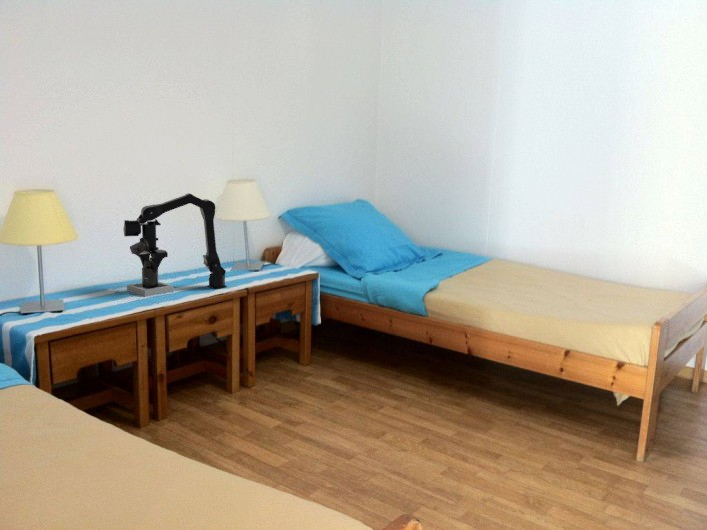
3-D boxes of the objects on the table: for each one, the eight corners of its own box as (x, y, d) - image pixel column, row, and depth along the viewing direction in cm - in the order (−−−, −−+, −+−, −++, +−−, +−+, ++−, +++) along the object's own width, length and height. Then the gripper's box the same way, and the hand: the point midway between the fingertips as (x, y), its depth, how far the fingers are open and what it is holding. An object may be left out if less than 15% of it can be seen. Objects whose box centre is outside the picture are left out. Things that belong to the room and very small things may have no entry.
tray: (155, 286, 309) (154, 280, 308) (173, 291, 300) (173, 285, 299) (127, 290, 298) (126, 284, 298) (145, 296, 289) (145, 290, 289)
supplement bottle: (141, 288, 295) (140, 261, 292) (143, 285, 301) (142, 258, 299) (157, 288, 296) (157, 261, 294) (159, 285, 302) (158, 258, 300)
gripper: (120, 234, 294) (121, 270, 297) (144, 240, 282) (145, 277, 285) (143, 232, 302) (144, 267, 305) (168, 237, 290) (168, 273, 294)
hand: (150, 271), depth 297 cm, fingers closed on supplement bottle, 7 cm apart
